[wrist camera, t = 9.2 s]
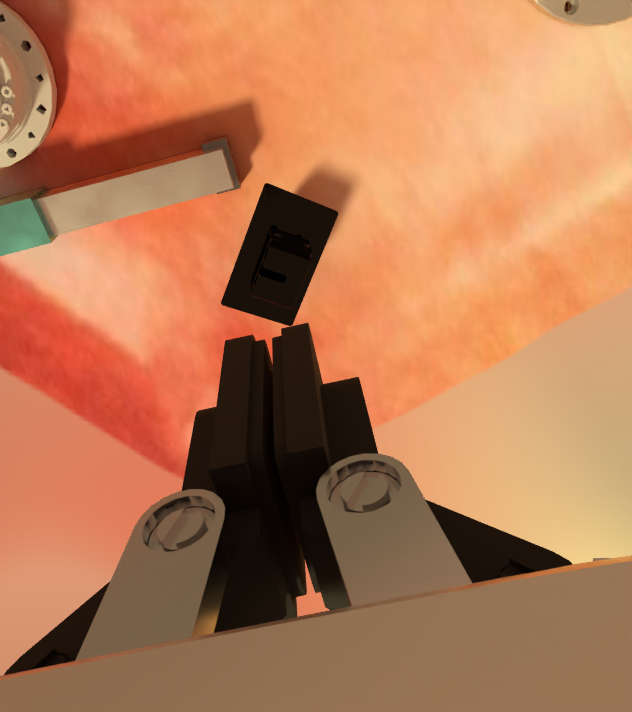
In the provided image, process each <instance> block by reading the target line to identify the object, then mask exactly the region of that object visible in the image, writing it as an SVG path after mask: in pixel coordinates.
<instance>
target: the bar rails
mask: <svg viewBox="0 0 632 712" xmlns="http://www.w3.org/2000/svg"><path fill="white" fill-rule="evenodd" d="M201 146H202V149H200V150H196V151H192V152H188V153H185V154H181V155H177V156H174V157H170V158H166V159H162V160H159V161H155V162H151V163H148V164H144V165H140V166H136V167H133V168H129V169H125V170H122V171H118V172H114V173H110V174H107V175H103V176H99V177H95V178H92V179H88V180H84V181H81V182H77V183H73V184H69V185H66V186H62V187H58V188H55V189H51V190H47V191H46V189H45V187H43V188H39V189H35V190H31V191H28V192H24V193H20V194H17V195H13V196H9V197H5V198H2V199H0V256H3V255H6V254H10V253H14V252H18V251H22V250H25V249H29V248H33V247H37V246H40V245H44V244H48V243H51V242H52V241H53V240H54V239H55V238H56V237H57V236H58V235H59V234H63V233H67V232H71V231H74V230H78V229H82V228H86V227H89V226H93V225H97V224H101V223H104V222H108V221H112V220H116V219H120V218H123V217H127V216H131V215H135V214H138V213H142V212H146V211H150V210H153V209H157V208H161V207H165V206H168V205H172V204H176V203H180V202H183V201H187V200H191V199H195V198H199V197H202V196H206V195H210V194H214V193H217V194H220V193H224V192H227V191H231V190H235V189H239V188H241V183H240V179H239V176H238V173H237V169H236V166H235V163H234V159H233V156H232V153H231V149H230V146H229V142H228V139H227V136H222V137H219V138H215V139H211V140H208V141H204V142H202V144H201Z"/></svg>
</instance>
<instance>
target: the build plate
mask: <svg viewBox="0 0 632 712" xmlns="http://www.w3.org/2000/svg"><path fill="white" fill-rule="evenodd" d="M337 216H338V212H337V211H335V210H333V209H330V208H328V207H325V206H323V205H320V204H318V203H315V202H313V201H310V200H308V199H305V198H303V197H300V196H298V195H296V194H293V193H291V192H288V191H286V190H283V189H281V188H278V187H276V186H273V185H271V184H268V183H266V184H265V185H264V187H263V190H262V193H261V195H260V198H259V201H258V204H257V206H256V209H255V212H254V214H253V217H252V220H251V223H250V225H249V228H248V231H247V233H246V236H245V239H244V242H243V244H242V247H241V250H240V252H239V255H238V258H237V261H236V263H235V266H234V269H233V271H232V274H231V277H230V280H229V282H228V285H227V288H226V291H225V293H224V296H223V299H222V301H221V304H222V305H224V306H227V307H230V308H233V309H237V310H240V311H243V312H246V313H250V314H253V315H256V316H259V317H262V318H266V319H269V320H272V321H275V322H279V323H282V324H285V325H288V326H291V325H293V322H294V320H295V317H296V315H297V313H298V310H299V308H300V305H301V303H302V300H303V298H304V296H305V293H306V291H307V288H308V286H309V284H310V281H311V279H312V276H313V274H314V271H315V269H316V267H317V264H318V262H319V259H320V257H321V255H322V252H323V250H324V247H325V245H326V242H327V240H328V238H329V235H330V233H331V230H332V228H333V226H334V223H335V221H336V218H337Z"/></svg>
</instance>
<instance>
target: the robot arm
mask: <svg viewBox="0 0 632 712" xmlns="http://www.w3.org/2000/svg"><path fill="white" fill-rule="evenodd" d="M529 1H530V2H531V3H532V4H533V5H534V6H535V7H536V8H537V9H538V10H539V11H541V12H542V13H544V14H546V15H547V16H549V17H551V18H552V19H554V20H557V21H560V22H563V23H567V24H570V25H578V26H600V25H609V24H613V23H616V22H620V21H624V20H627V19H629V18H631V17H632V0H529ZM566 2H567V3H568V9H567V11H565V10H564V6H565V3H566ZM281 333H282V336H279V337H274V338H272V348H273V365H272V362H271V358H270V354H269V351H268V347H267V344H266V341H265V340H260V341H256V340H255V338H254V336H253V335H249V336H245V337H240V338H235V339H231V340H226V341H225V346H224V354H223V361H222V369H221V377H220V384H219V392H218V399H217V407H213V408H209V409H204V410H199V411H198V412H197V413H196V416H195V421H194V426H193V432H192V437H191V443H190V448H189V454H188V459H187V465H186V470H185V476H184V481H183V487H182V491H180V492H176V493H174V494H171V495H169V496H167V497H164V498H163V499H161V500H160V501H158V502H157V503H155V504H154V505H152V506H151V507H150V508H149V509H148V510H147V511H146V512H145V513H144V514H143V515H142V516H141V517H140V519H139V520H138V522H137V524H136V525H135V527H134V529H133V531H132V534H131V536H130V538H129V541H128V543H127V545H126V547H125V550H124V552H123V554H122V556H121V559H120V561H119V563H118V565H117V568H116V570H115V572H114V574H113V577H112V579H111V581H110V582H109V583H108V584H106V585H105V586H104V587H103V588H102V589H101V590H99V591H98V592H97V593H96V594H95V595H93V596H92V597H91V598H90V599H89V600H87V601H86V602H85V603H84V604H83V605H81V606H80V607H79V608H78V609H77V610H76V611H74V612H73V613H72V614H71V615H70V616H68V617H67V618H66V619H65V620H64V621H62V622H61V623H60V624H59V625H58V626H57V627H55V628H54V629H53V630H52V631H51V632H49V633H48V634H47V635H46V636H45V637H44V638H42V639H41V640H40V641H39V642H38V643H36V644H35V645H34V646H33V647H32V648H31V649H29V650H28V651H27V652H26V653H25V654H23V655H22V656H21V657H20V658H19V659H18V660H17V661H16V662H15V663H14V664H13V665H12V666H11V667H10V668H9V669H8V670H7V671H6V673H5V674H4V675H3V676H0V712H632V556H626V557H619V558H594V559H593V562H587V563H580V564H574V565H573V564H572V563H571V562H570V561H569V560H567V559H565V558H563V557H562V556H560V555H558V554H556V553H554V552H552V551H550V550H547V549H545V548H543V547H540V546H538V545H535V544H533V543H530V542H528V541H525V540H523V539H520V538H518V537H515V536H513V535H511V534H508V533H506V532H503V531H501V530H499V529H496V528H494V527H491V526H488V525H486V524H484V523H481V522H479V521H476V520H474V519H471V518H469V517H466V516H464V515H462V514H459V513H457V512H454V511H452V510H449V509H447V508H445V507H442V506H440V505H437V504H435V503H432V502H430V501H427V500H425V498H424V497H423V495H422V493H421V492H420V490H419V488H418V486H417V484H416V483H415V481H414V479H413V477H412V475H411V474H410V472H409V470H408V469H407V468H406V467H405V466H404V465H403V463H402V462H400V461H398V460H396V459H394V458H393V457H390V456H386V455H382V454H378V451H377V447H376V443H375V439H374V435H373V431H372V427H371V423H370V419H369V415H368V411H367V407H366V403H365V399H364V395H363V392H362V388H361V384H360V380H359V377H355V378H351V379H346V380H341V381H337V382H332V383H327V384H323V382H322V378H321V374H320V369H319V365H318V361H317V357H316V352H315V348H314V344H313V340H312V335H311V331H310V327H309V324H308V323H305V324H300V325H296V326H291V327H286V328H282V329H281ZM305 561H306V564H307V568H308V571H309V574H310V578H311V581H312V584H313V587H314V590H315V592H316V593H317V592H321V594H322V597H323V601H324V604H325V607H326V608H328V609H329V610H330V611H325V612H320V613H314V614H309V615H304V616H299V617H297V603H296V597H298V596H303V595H306V593H307V588H306V573H305Z"/></svg>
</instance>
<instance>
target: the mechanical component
mask: <svg viewBox="0 0 632 712" xmlns="http://www.w3.org/2000/svg"><path fill="white" fill-rule="evenodd" d="M4 18H5V19H4ZM27 42H29V43H30V45H31V46H32V47H31V48H30V49H29V47H28V45H27ZM41 76H42V77H43V79H44V80H43V79H42V77H41ZM56 102H57V87H56V83H55V78H54V73H53V68H52V65H51V63H50V60H49V58H48V56H47V53H46V51H45V49H44V47H43V45H42V44H41V42H40V41H39V39H38V37H37V36H36V34H35V33H34V31H33V30H32V29H31V28H30V27H29V26H28V24H27V23H26V22H25V21H24V20H23V19H22V18H21V17H20V16H19V15H18V13H16V12H15V11H13V10H12V9H11V8H9V7H8V6H7V5H5V4H4V3H3V2H1V1H0V168H2V167H8V166H11V165H12V164H14V163H16V162H18V161H19V160H21V159H23V158H25V157H26V156H28V155H30V154H31V153H32V152H33V151H34V150H35V149H37V148H38V147H39V146H40V145H41V144H42V143H43V141H44V140H45V138H46V137H47V135H48V134H49V132H50V131H51V128H52V125H53V122H54V119H55V115H56ZM42 105H43V106H44V107H45V108H46V111H45V110H43V109H42ZM13 149H14V150H15V152H16V153H17V154H15V152H14V150H13Z"/></svg>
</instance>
